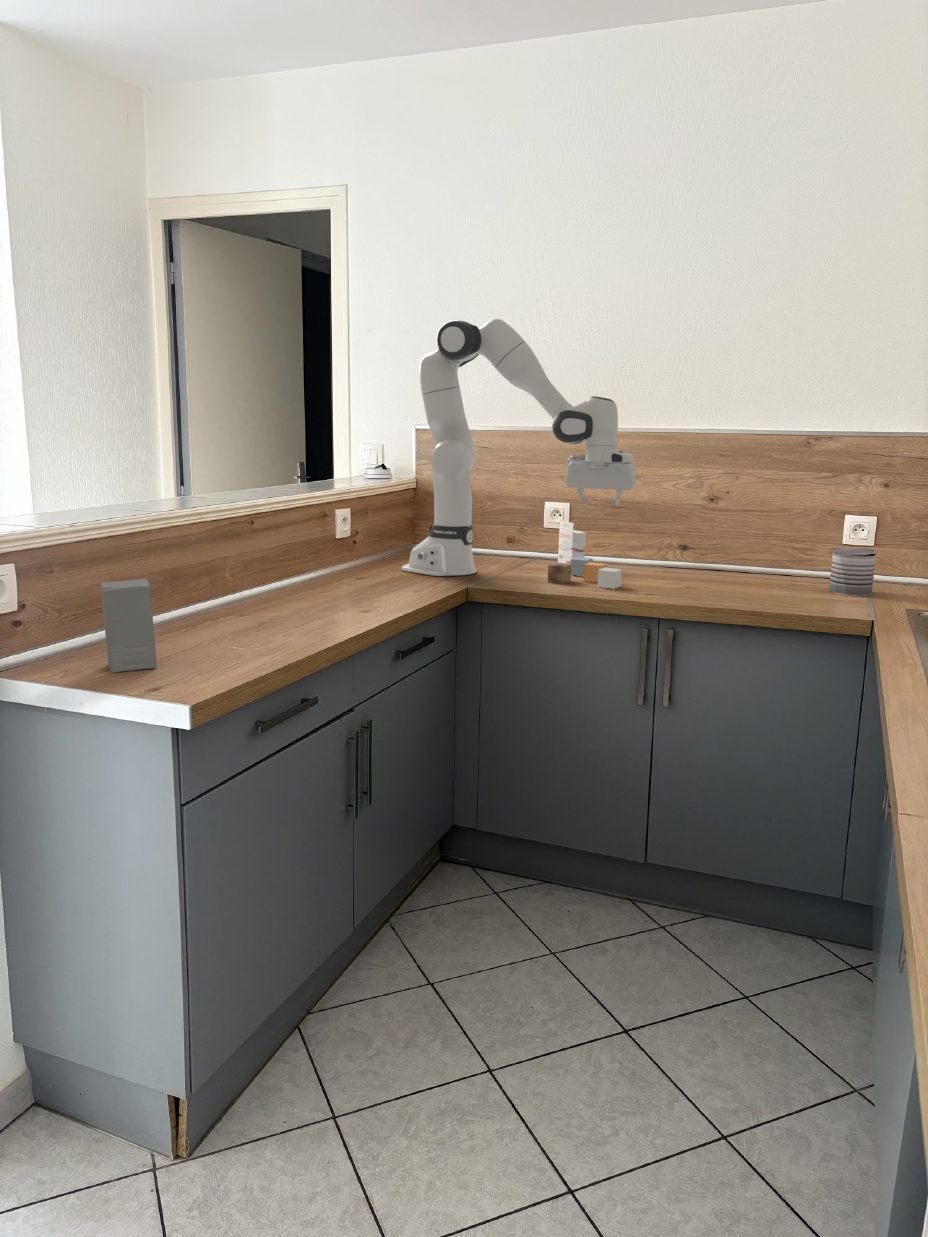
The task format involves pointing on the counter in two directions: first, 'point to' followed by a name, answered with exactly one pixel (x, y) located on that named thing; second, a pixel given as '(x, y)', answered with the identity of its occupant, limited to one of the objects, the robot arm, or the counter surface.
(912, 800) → the counter surface
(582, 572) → the slate cube
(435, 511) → the robot arm
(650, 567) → the counter surface
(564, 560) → the ink cartridge box
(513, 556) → the counter surface
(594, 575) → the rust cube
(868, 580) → the can
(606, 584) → the grey cube
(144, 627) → the skincare box
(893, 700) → the counter surface
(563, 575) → the walnut cube
